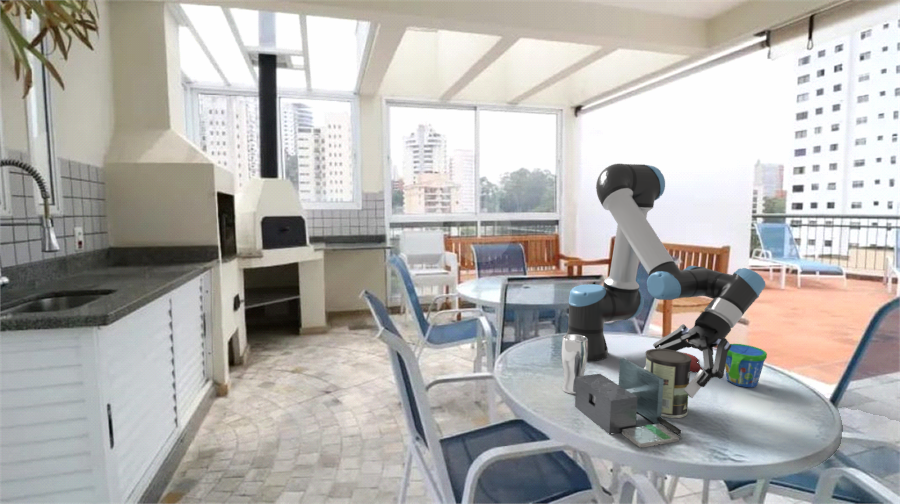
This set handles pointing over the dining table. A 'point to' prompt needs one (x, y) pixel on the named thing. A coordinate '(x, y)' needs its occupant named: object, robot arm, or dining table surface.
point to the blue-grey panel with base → (644, 391)
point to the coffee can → (671, 379)
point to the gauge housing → (617, 411)
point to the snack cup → (744, 365)
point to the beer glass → (573, 360)
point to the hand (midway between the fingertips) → (666, 382)
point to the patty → (694, 364)
